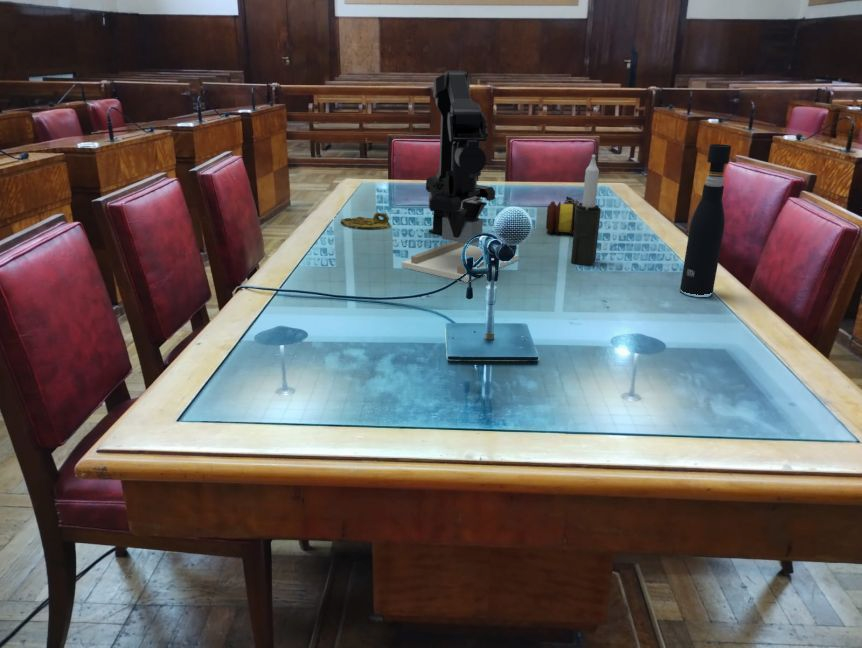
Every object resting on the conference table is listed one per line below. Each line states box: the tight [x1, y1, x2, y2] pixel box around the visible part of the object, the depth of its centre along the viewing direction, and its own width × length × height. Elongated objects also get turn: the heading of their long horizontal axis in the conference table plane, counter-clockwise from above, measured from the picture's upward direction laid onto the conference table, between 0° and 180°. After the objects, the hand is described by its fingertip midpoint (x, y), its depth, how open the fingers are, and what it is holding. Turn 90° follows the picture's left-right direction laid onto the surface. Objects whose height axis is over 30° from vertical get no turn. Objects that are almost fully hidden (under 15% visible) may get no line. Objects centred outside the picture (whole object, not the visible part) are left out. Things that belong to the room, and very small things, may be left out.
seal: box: [340, 212, 391, 231], centre depth 193 cm, size 9×5×15 cm
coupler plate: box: [401, 241, 519, 283], centre depth 160 cm, size 22×18×3 cm
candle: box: [570, 154, 602, 267], centre depth 159 cm, size 5×5×25 cm
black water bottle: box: [679, 143, 732, 295], centre depth 138 cm, size 6×6×30 cm
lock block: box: [441, 216, 484, 245], centre depth 158 cm, size 4×8×5 cm, turn 54°
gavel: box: [545, 196, 583, 236], centre depth 197 cm, size 10×34×10 cm
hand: (461, 235), depth 159 cm, fingers closed on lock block, 4 cm apart
